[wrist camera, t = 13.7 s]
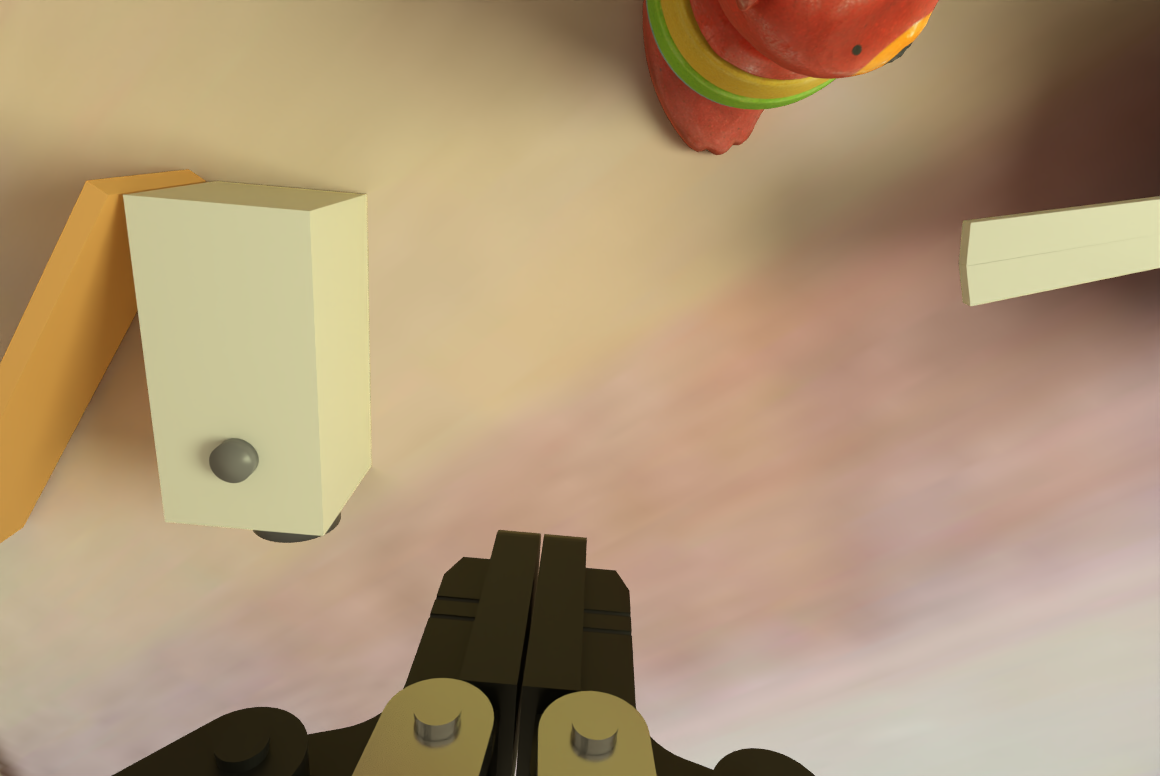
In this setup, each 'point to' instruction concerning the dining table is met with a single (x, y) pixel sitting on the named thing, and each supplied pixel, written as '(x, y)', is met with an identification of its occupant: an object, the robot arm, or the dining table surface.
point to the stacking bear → (763, 56)
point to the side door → (67, 338)
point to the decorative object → (1057, 248)
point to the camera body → (255, 352)
